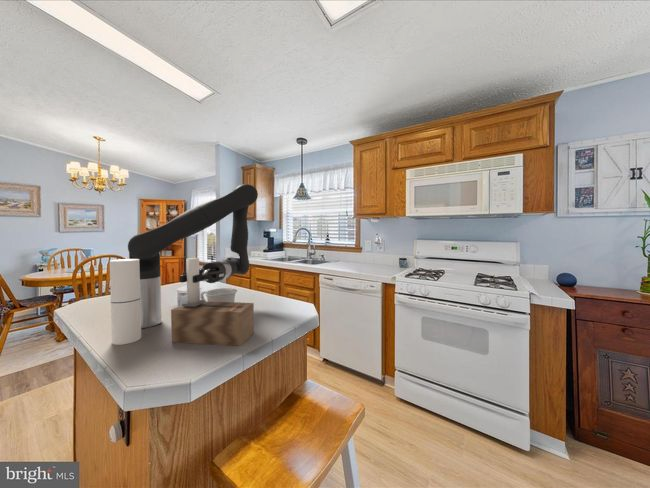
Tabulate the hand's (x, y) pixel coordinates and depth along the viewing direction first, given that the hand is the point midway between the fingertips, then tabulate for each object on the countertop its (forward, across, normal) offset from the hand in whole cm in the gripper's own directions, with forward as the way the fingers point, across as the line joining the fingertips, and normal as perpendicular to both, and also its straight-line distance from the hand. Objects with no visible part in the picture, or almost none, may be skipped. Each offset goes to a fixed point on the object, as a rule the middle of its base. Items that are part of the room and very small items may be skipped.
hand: (187, 279), depth 77 cm
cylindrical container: (+2, -19, +19) cm, 27 cm away
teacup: (-23, -3, +19) cm, 30 cm away
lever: (-3, 0, +9) cm, 9 cm away
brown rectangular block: (-3, +7, +19) cm, 20 cm away
